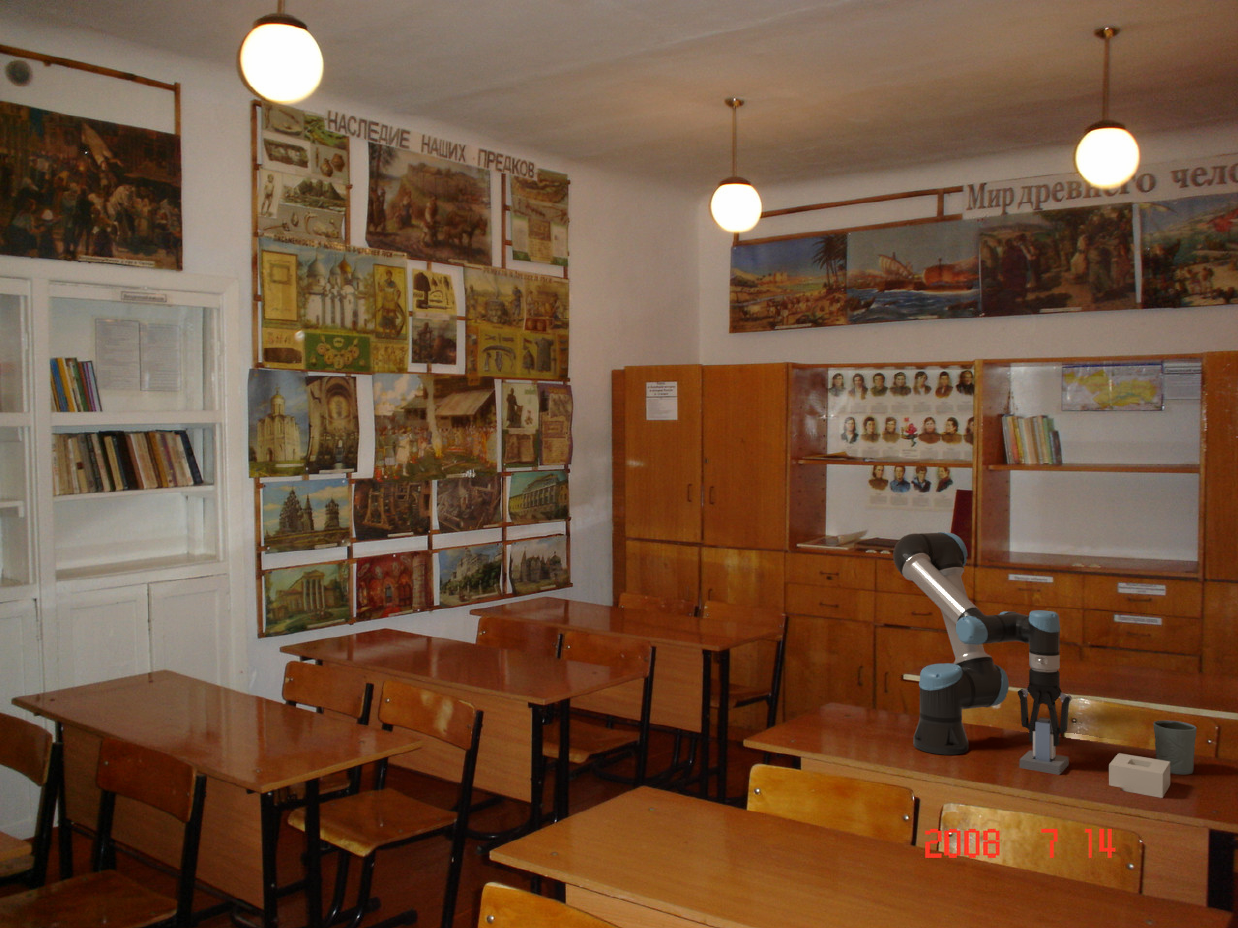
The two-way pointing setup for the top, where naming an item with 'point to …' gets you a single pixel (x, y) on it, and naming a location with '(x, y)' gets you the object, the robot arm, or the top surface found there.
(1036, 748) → the plug
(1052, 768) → the grey square socket block
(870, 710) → the top surface
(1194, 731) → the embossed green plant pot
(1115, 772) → the port
